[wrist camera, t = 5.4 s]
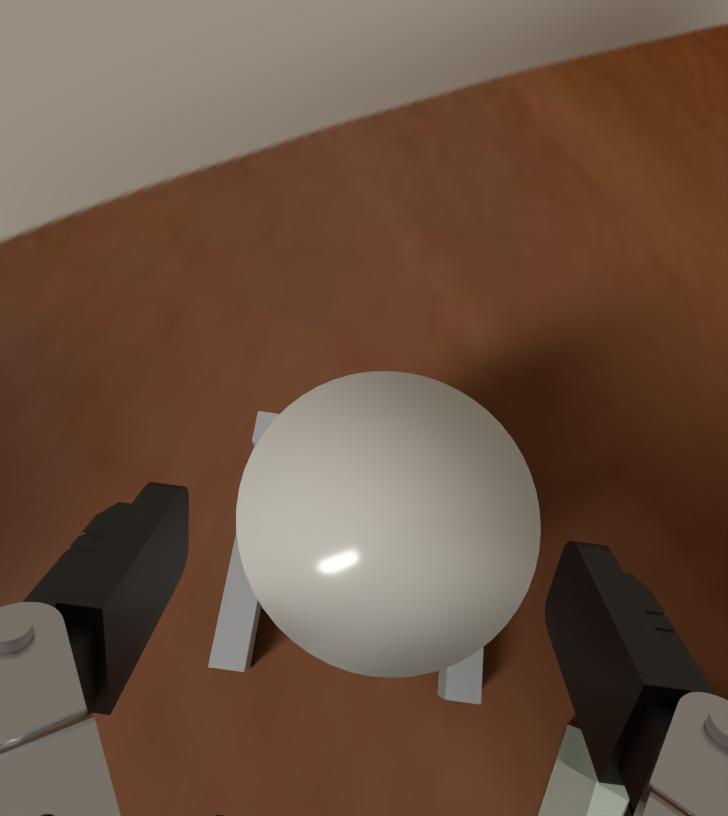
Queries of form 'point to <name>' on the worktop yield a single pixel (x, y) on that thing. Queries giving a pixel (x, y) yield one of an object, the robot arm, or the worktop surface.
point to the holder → (244, 614)
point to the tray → (579, 784)
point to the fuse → (388, 524)
